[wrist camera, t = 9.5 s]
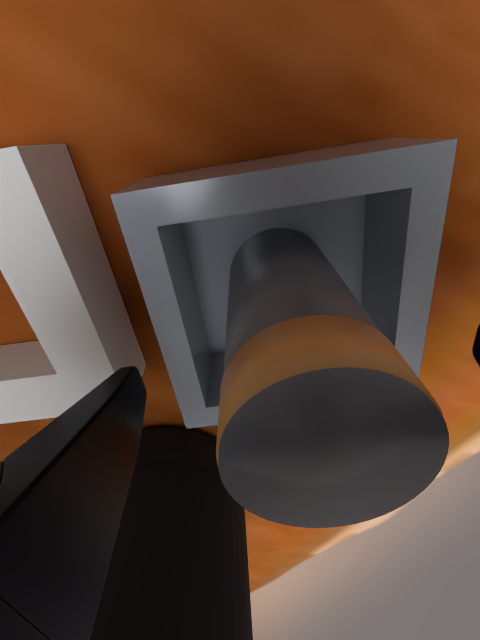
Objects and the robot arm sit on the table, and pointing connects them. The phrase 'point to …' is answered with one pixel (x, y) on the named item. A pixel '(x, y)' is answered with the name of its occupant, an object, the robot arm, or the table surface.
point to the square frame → (56, 288)
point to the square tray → (293, 213)
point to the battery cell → (316, 395)
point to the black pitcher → (177, 548)
